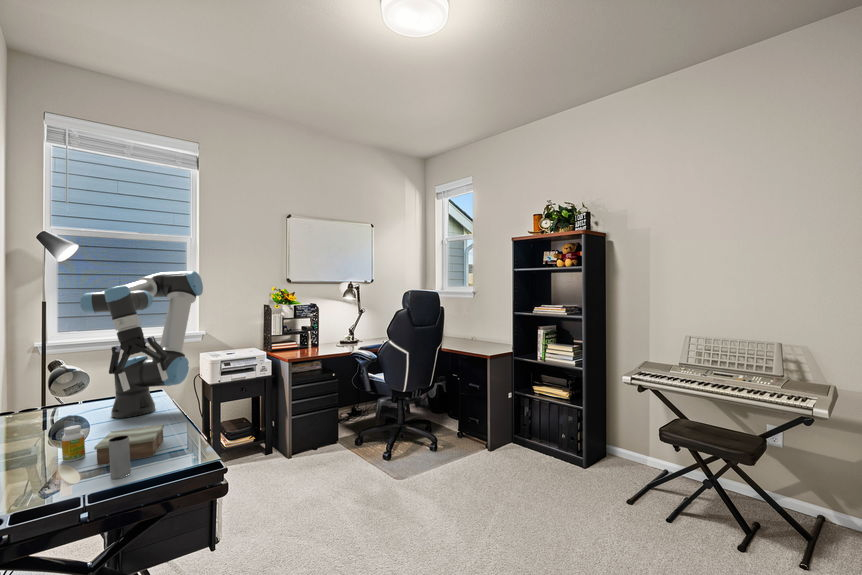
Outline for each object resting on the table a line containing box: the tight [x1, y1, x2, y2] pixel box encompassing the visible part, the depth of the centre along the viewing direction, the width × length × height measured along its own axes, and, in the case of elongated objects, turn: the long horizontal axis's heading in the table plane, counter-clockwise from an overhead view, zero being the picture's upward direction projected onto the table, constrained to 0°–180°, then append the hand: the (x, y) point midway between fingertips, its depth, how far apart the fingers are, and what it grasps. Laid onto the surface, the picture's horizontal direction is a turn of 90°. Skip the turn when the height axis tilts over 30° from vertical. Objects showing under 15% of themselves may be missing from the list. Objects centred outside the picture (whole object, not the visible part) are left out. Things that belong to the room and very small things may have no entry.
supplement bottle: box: [61, 424, 86, 463], centre depth 133 cm, size 5×5×10 cm
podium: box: [93, 423, 165, 466], centre depth 136 cm, size 15×15×6 cm
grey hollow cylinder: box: [109, 435, 132, 480], centre depth 119 cm, size 4×4×10 cm
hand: (146, 385), depth 157 cm, fingers open, 13 cm apart
